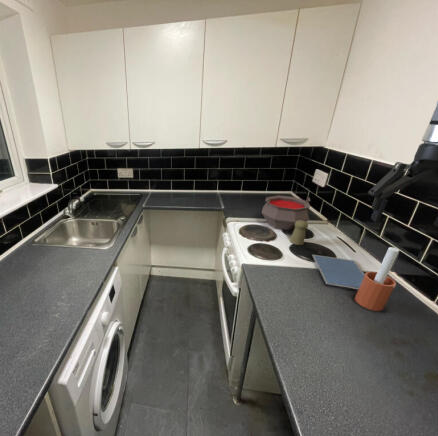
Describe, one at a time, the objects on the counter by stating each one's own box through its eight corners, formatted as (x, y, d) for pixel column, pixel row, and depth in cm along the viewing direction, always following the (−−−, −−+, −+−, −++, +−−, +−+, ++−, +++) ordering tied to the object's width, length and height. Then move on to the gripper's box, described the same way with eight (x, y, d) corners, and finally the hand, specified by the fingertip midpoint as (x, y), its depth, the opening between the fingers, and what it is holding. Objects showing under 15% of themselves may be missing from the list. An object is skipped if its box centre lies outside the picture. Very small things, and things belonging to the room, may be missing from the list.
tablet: (353, 262, 96) (354, 260, 95) (377, 294, 79) (378, 292, 78) (311, 256, 101) (312, 254, 100) (325, 285, 84) (326, 283, 83)
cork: (304, 240, 113) (309, 220, 108) (304, 246, 108) (309, 225, 104) (289, 237, 116) (294, 217, 111) (289, 243, 111) (294, 222, 107)
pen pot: (376, 298, 77) (388, 274, 73) (387, 313, 71) (401, 288, 67) (351, 293, 80) (361, 269, 76) (360, 308, 74) (371, 283, 70)
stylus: (371, 300, 76) (396, 247, 68) (375, 304, 74) (401, 251, 66) (363, 298, 77) (387, 246, 68) (366, 303, 75) (391, 250, 66)
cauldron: (294, 216, 139) (300, 190, 132) (316, 235, 117) (325, 205, 111) (253, 215, 142) (257, 190, 135) (267, 234, 120) (273, 205, 113)
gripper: (385, 144, 56) (355, 223, 65) (539, 146, 48) (481, 235, 56) (370, 141, 62) (345, 213, 71) (504, 142, 54) (456, 223, 63)
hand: (405, 223), depth 64 cm, fingers open, 13 cm apart
